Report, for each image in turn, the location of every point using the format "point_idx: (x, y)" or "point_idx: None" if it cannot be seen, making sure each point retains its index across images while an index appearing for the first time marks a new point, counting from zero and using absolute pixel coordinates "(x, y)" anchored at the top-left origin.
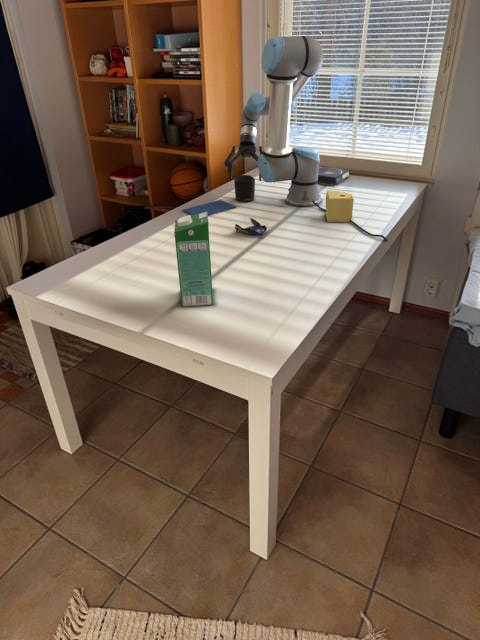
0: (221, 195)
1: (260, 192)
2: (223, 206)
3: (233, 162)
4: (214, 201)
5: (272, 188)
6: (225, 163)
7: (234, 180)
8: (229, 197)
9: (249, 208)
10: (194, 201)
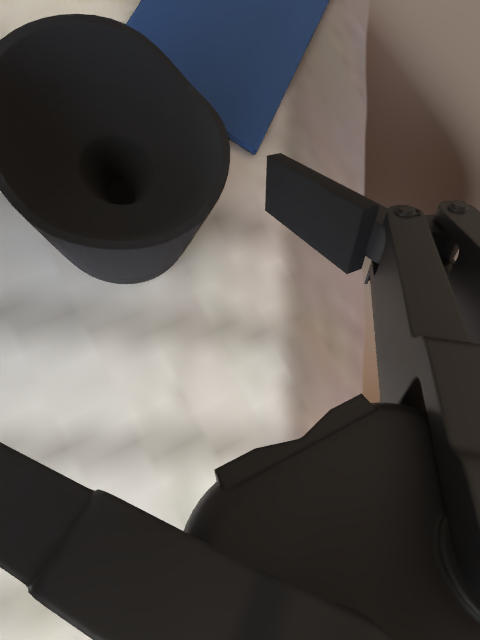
0: (296, 258)
1: (87, 415)
2: (179, 39)
3: (385, 260)
4: (270, 118)
5: None
6: (446, 202)
7: (201, 95)
8: (237, 237)
9: None
10: (364, 125)
